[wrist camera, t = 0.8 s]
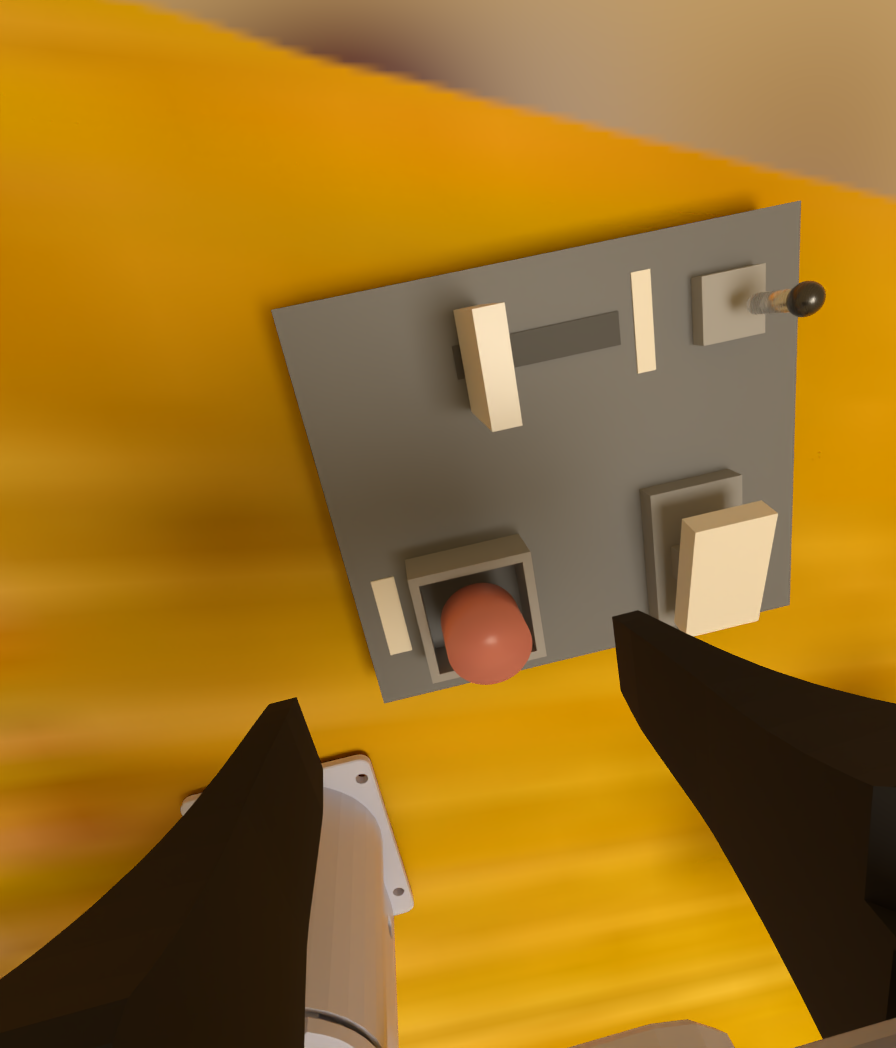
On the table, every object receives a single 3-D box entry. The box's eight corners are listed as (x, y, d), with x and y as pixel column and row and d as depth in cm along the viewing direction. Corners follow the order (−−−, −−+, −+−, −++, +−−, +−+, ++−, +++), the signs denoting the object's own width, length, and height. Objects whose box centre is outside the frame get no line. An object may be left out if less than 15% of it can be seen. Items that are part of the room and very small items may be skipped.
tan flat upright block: (496, 406, 18) (522, 425, 15) (471, 411, 18) (492, 432, 15) (480, 304, 17) (504, 302, 14) (453, 310, 17) (471, 309, 14)
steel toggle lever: (758, 317, 17) (832, 312, 15) (737, 323, 17) (810, 318, 15) (758, 285, 17) (834, 276, 15) (737, 291, 16) (812, 281, 15)
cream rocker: (744, 605, 20) (758, 620, 20) (674, 622, 20) (685, 638, 19) (761, 500, 18) (777, 513, 17) (682, 518, 18) (695, 532, 17)
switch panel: (756, 582, 24) (819, 625, 21) (383, 671, 23) (385, 732, 20) (758, 211, 19) (841, 189, 16) (281, 310, 18) (260, 309, 15)
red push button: (523, 642, 19) (537, 673, 18) (448, 660, 19) (456, 692, 18) (511, 574, 18) (525, 600, 17) (433, 592, 18) (439, 621, 17)
